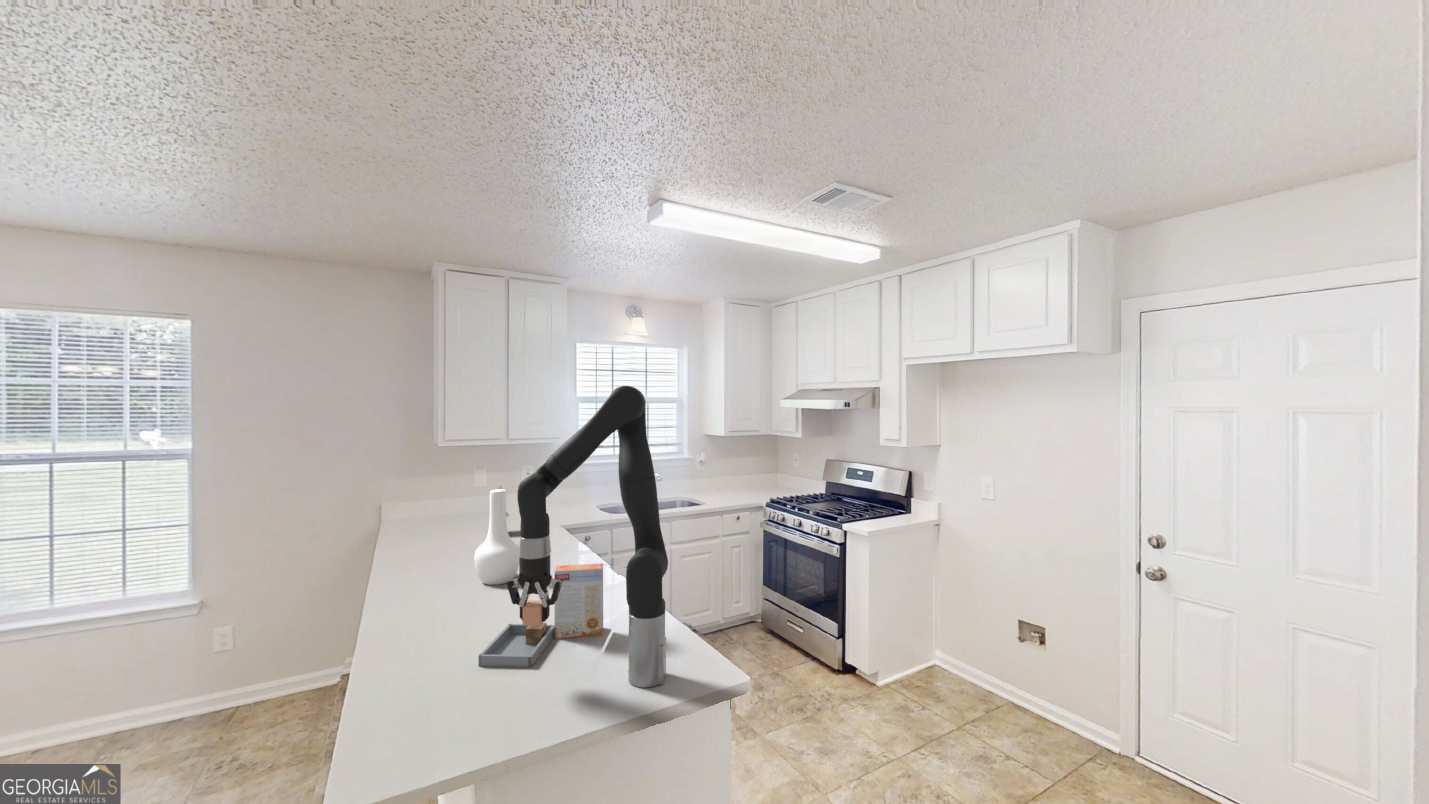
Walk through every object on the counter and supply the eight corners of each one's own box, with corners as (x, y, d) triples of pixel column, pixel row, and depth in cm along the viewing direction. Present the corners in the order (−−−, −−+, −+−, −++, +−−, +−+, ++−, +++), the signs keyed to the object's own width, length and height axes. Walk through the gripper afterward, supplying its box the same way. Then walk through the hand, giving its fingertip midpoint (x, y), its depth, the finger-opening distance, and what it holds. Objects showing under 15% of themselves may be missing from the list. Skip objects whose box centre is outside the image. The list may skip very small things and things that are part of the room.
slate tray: (555, 636, 163) (555, 624, 163) (531, 670, 143) (531, 656, 143) (509, 635, 164) (509, 623, 164) (478, 668, 144) (478, 655, 144)
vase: (525, 582, 210) (525, 491, 210) (479, 590, 201) (479, 495, 200) (514, 570, 224) (514, 485, 224) (470, 577, 215) (470, 489, 214)
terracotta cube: (546, 618, 141) (546, 600, 141) (540, 625, 136) (540, 607, 136) (529, 617, 141) (529, 600, 141) (522, 625, 136) (522, 607, 136)
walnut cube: (546, 637, 161) (546, 622, 161) (541, 644, 156) (541, 629, 156) (531, 637, 161) (531, 622, 161) (525, 644, 156) (525, 628, 156)
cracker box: (603, 629, 168) (603, 562, 168) (602, 638, 162) (603, 568, 162) (556, 632, 166) (556, 564, 166) (553, 641, 160) (554, 570, 160)
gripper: (500, 557, 135) (500, 625, 135) (558, 558, 134) (558, 626, 135) (512, 548, 142) (512, 613, 142) (567, 549, 142) (566, 614, 142)
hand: (534, 619), depth 138 cm, fingers closed on terracotta cube, 4 cm apart
